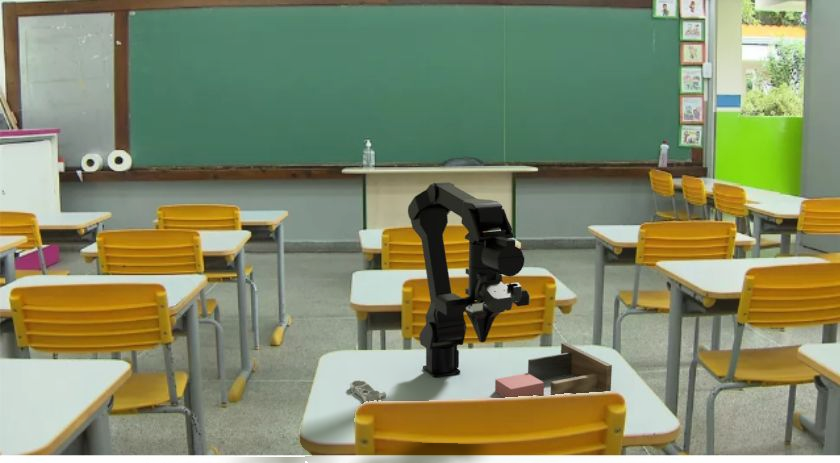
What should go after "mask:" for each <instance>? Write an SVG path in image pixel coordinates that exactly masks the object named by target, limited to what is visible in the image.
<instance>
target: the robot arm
mask: <svg viewBox="0 0 840 463" xmlns="http://www.w3.org/2000/svg"><path fill="white" fill-rule="evenodd" d="M451 212H452V213H454V214H456V215H457V216H458V217H460V218H461V224H462V226H463V227H464V228H465V229H466V230H467V231H468V232H467V233H466V235H465V236H464V239H465V240H466V241H468V268H465V274H466V275H468V288H465V295H466V296H463V297H461V296H460V295H458V294H455V293H453V292H452V287H451V280H450V274H449V268H448V261H447V256H446V247H445V241H444V233H445V231H446V228H447V225H448V223H449V221H448V220H449V218H448V215H449V214H450V213H451ZM407 214H408V218H409V220H410V223H411V228H412V230H414V232H415V233H416V234H417V236H418V237H419V239H421V246H422V251H423V252H422V253H423V259H424V260H423V261H424V265H425V273H426V279H427V284H428V285H427V286H428V292H429V299H430V304H429V307H428V309H427V311H426V314H425V325H424V326H423V328H422V329H421V331H420V333H419V336H418V337H419V343H420V345H421V346H422V347H423V348H425V365H423V366H422V369H423V370H424V371H426V372H427V373H428V374H430V375H431V376H432V377H434V378H440V377H445V376H451V375H457V374H458V375H459V374H461V370H460V369H458V368H459V367H460V365H459V364H460V350H458V346H463V345H464V341H465V337H466V333H467V329H468V328H467V323H466V321H465V320H466V319H465V316H464V313H466V315H467V317H468V318H469V320H470V322H471V324H472V327H473V329H474V330H473V331H474V332H475V334H476V337H477V340H478V341H479V342H480V343H485V342H486V341H487V338H488V335H489V334H490V330H491V328H492V325H493V323H494V321H495V319H496V317H498V315H500V314H502V313H504V312H505V311H511V310H512V308H513V304H514V305H515V306H516V307H523V306H524V307H525V306H529V305H530V304H531V302H530V301H531V300H530V299H531V298H530V297H531V296H530V293H529V291H528V290H526V289H524V288H522V285H521V284H520V283H519V282H511V283H504V281H503V276H504V277H509V278H510V277H514V276H516V275H517V274H519V273H520V272H521V271H522V270H523V268H524V265H525V256H524V253H523V252H522V250H521V249H520V247H517V246H516V239H515V238H514V234H513V227H512V226H511V223H510V220H509V219H508V216H507V213H506V211H505V209H504V207H503V205H502V203H501V202H500V201H498V200H493V199H483V198H476V197H474V196H473V195H471V194H469V193H467V192H466V191H464V190H463V189H460V188H459V187H457V186H455V185H454V183H452V182H450V181H446V182H445V181H444V182H442V181H441V182H432V183H431V184H429V185H428V187H427V188H426V189H425V190H423V191H421V192H420V193H419V194H417V195H415V196H414V197H413V199H412V200H411V202H410V203H409V205H408V207H407ZM513 238H514V239H513Z"/></svg>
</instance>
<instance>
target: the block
mask: <svg viewBox="0 0 840 463" xmlns="http://www.w3.org/2000/svg"><path fill="white" fill-rule="evenodd" d="M494 383H495V384H494V391H495V393H497V394H498V395H500V396H501V397H503V398H505V397H518V396H533V395H541V396H545V395H544V394H545V393H544V392H545V382H543V380H539V379H537V378H535V377H534V376H532V375H530V374H528V372H527V373H522V374H515V375H510V376H506V377H500V378H495V380H494Z"/></svg>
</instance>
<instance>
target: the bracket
mask: <svg viewBox="0 0 840 463" xmlns="http://www.w3.org/2000/svg"><path fill="white" fill-rule="evenodd" d="M349 386H350V393H353V394H356V395H357V396H358V397H359V398H361V399H362V401H363V403H364V402H366V401H368V402H369V401H374V400H385V399H386V397H387V393H386V391H382V392H380V391H378V390H375V389H374V388H373V387H372V386H371V385H370V384H369V382H367V381H365V380H361V379H360V380H357V379H356V380H353V381H351V382H350V385H349ZM365 392H367V393H365Z"/></svg>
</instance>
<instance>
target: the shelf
mask: <svg viewBox="0 0 840 463" xmlns="http://www.w3.org/2000/svg"><path fill="white" fill-rule="evenodd" d="M560 344H561V345H560V353H559V354H554V355H553V354H552V355H547V356H541V357H536V358H530V359H528V360H527V363H528V364H527V373H528V374H530V375H532V376H534V377H535V378H537V379H539V380H540V381H544V380H549V379H555V378H561V377H565V376H573V377H570V378H568V377H567V378H564V379H559V380H558V379H557V380H553V381H550V395H555V394H564V393H575V394H579V392H580V393H583V392H585V393H586V392H590V391H593V390H598V391H600V392H602V391H611V392H612V374H613V373H612V371H613V365H612V364H610V363H608V362H606V361H604V360H602V359H600V358H599V357H596V356H594V355H592V354H590V353H588V352H585V351H584V350H582V349H580V348H577V347H576V346H574V345H571V344H570V343H568V342H561V343H560Z"/></svg>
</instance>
